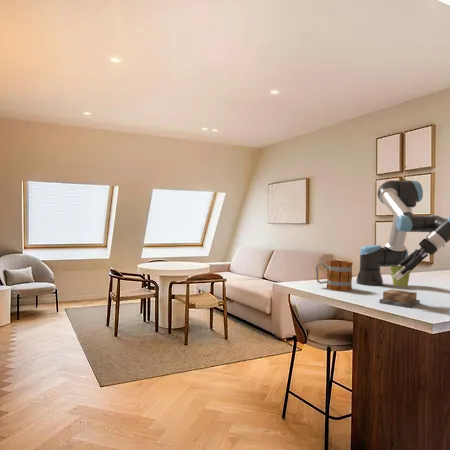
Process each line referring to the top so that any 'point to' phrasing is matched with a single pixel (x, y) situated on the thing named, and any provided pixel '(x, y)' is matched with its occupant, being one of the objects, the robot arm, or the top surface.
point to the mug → (337, 275)
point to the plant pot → (401, 281)
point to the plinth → (399, 298)
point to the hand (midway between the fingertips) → (393, 276)
